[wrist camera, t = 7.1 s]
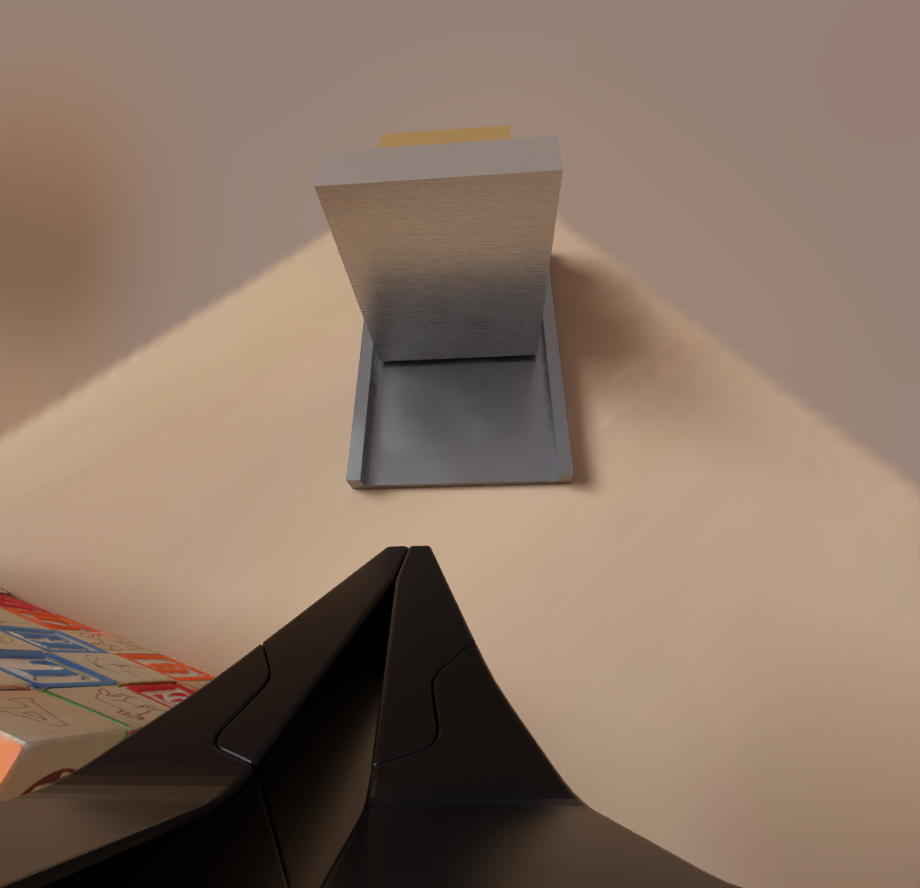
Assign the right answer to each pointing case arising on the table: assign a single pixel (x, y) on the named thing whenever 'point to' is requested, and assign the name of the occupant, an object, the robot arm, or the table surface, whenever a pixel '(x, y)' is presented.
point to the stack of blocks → (73, 694)
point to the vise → (461, 418)
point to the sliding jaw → (446, 242)
